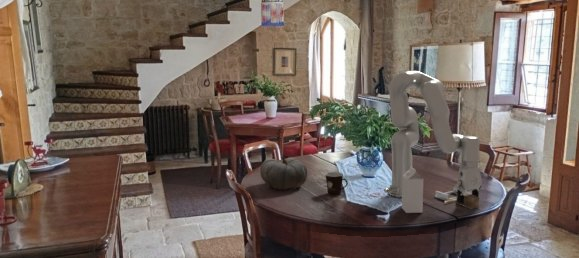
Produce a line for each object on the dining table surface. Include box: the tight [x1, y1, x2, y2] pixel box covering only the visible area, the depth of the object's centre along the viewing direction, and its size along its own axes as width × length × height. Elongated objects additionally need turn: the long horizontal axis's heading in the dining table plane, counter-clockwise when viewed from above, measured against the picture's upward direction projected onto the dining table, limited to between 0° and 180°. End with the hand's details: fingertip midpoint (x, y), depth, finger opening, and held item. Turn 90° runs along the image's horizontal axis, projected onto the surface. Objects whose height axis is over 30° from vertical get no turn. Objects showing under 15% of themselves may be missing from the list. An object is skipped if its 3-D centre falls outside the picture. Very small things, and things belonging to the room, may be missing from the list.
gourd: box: [260, 155, 308, 191], centre depth 231 cm, size 25×25×17 cm
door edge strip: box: [443, 199, 457, 205], centre depth 204 cm, size 18×1×1 cm, turn 118°
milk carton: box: [401, 166, 424, 214], centre depth 190 cm, size 7×7×19 cm
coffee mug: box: [325, 171, 349, 197], centre depth 215 cm, size 12×9×10 cm
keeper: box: [434, 186, 468, 201], centre depth 209 cm, size 13×8×3 cm, turn 118°
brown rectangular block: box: [455, 192, 480, 210], centre depth 197 cm, size 4×9×5 cm, turn 24°
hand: (467, 201), depth 197 cm, fingers open, 8 cm apart
